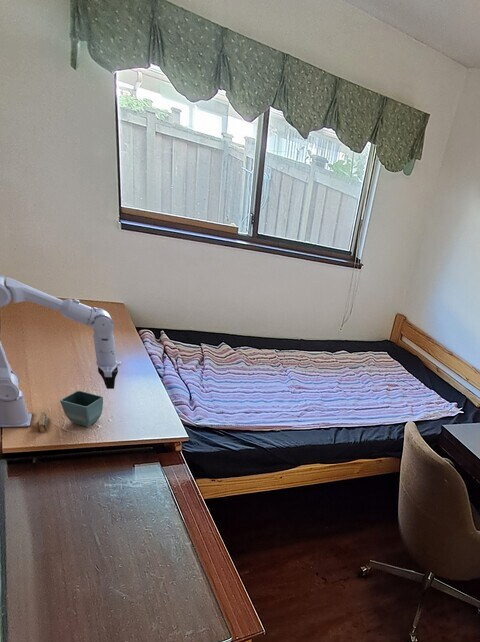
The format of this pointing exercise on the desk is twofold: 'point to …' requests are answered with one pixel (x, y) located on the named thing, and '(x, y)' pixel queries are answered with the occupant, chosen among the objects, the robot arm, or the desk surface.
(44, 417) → the stop rail
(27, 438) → the desk surface
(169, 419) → the desk surface
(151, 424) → the desk surface
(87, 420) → the flower pot
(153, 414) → the desk surface
